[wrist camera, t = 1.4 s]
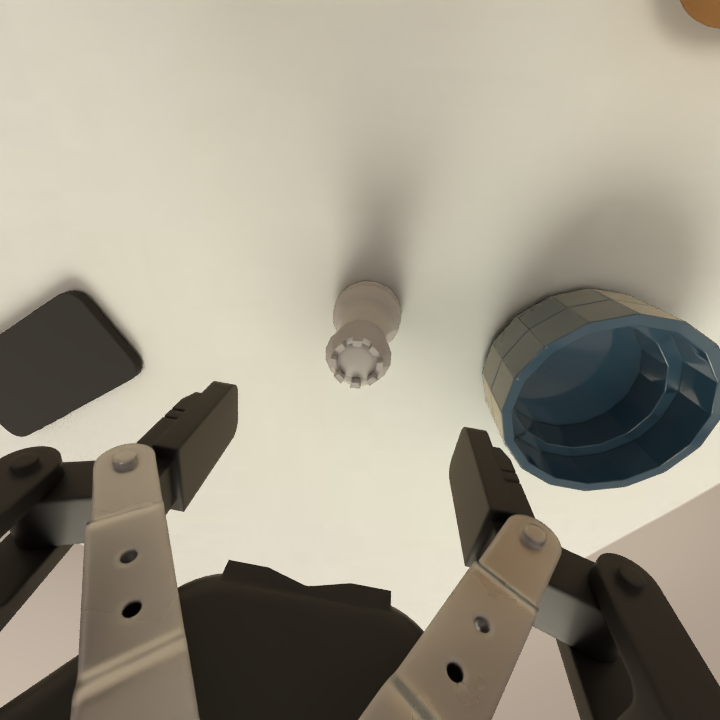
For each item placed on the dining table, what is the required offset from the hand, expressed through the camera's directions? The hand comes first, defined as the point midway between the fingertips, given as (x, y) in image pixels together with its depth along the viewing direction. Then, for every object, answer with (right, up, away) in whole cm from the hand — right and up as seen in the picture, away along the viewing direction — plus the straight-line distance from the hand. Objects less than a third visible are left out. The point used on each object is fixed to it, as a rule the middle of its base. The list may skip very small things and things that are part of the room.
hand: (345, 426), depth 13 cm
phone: (-24, +2, +16) cm, 29 cm away
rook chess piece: (+1, +6, +11) cm, 13 cm away
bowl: (+15, +2, +12) cm, 19 cm away
